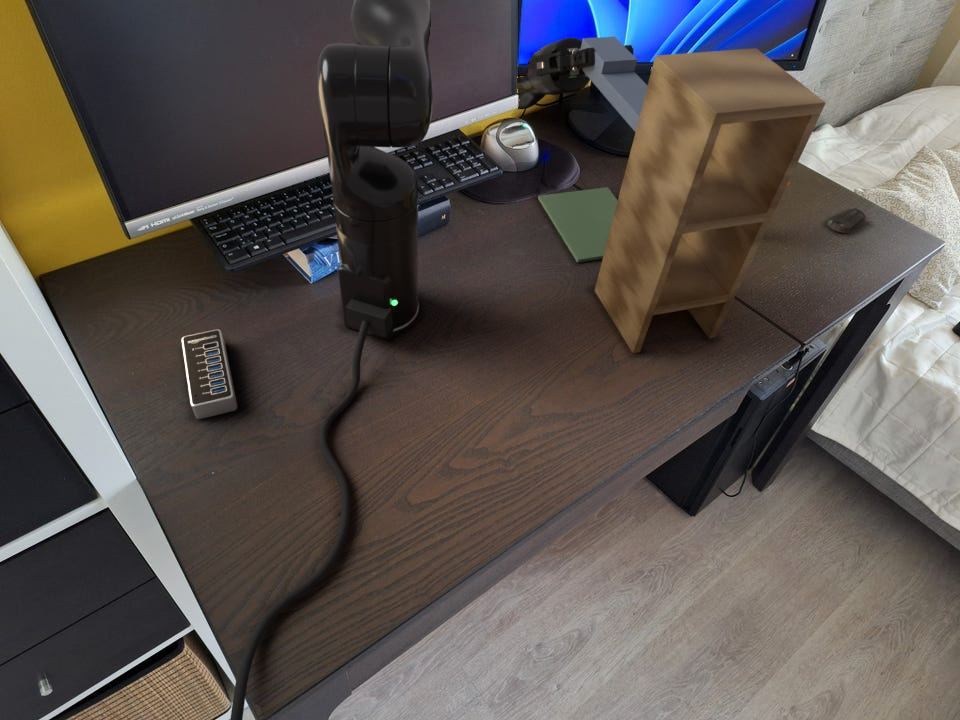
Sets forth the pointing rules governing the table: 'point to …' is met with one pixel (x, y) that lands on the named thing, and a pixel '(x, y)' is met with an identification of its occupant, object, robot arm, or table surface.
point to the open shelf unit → (701, 185)
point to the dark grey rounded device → (846, 220)
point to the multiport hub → (208, 374)
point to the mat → (582, 220)
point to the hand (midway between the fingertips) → (611, 55)
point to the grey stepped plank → (616, 77)
